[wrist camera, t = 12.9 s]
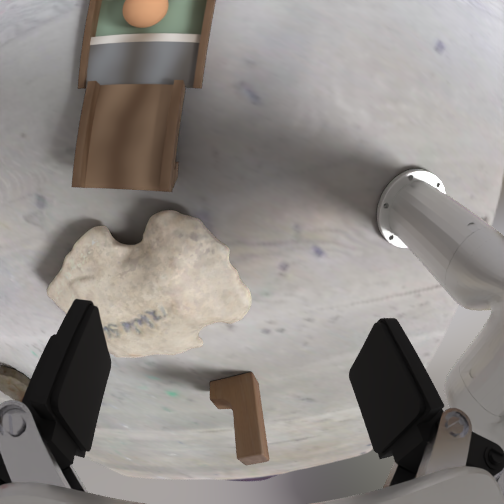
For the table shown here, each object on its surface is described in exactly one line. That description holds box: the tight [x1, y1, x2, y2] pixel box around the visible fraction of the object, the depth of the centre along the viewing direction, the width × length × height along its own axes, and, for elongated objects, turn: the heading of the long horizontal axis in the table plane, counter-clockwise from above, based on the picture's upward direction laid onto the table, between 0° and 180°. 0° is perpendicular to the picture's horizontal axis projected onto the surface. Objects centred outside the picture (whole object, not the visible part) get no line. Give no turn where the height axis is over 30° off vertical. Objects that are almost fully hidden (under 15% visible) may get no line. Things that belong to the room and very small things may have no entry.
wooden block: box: [210, 372, 269, 465], centre depth 50 cm, size 9×4×18 cm, turn 108°
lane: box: [72, 0, 216, 192], centre depth 26 cm, size 15×25×7 cm, turn 171°
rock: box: [47, 210, 251, 358], centre depth 41 cm, size 8×25×30 cm
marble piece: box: [0, 365, 30, 402], centre depth 55 cm, size 17×15×4 cm
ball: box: [123, 0, 168, 28], centre depth 23 cm, size 5×5×5 cm
